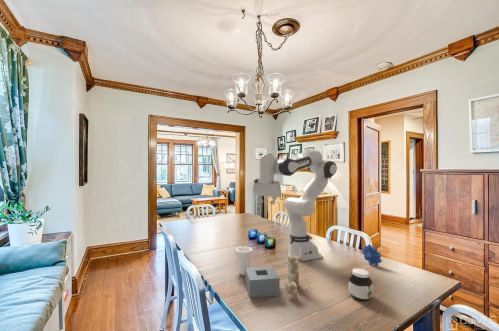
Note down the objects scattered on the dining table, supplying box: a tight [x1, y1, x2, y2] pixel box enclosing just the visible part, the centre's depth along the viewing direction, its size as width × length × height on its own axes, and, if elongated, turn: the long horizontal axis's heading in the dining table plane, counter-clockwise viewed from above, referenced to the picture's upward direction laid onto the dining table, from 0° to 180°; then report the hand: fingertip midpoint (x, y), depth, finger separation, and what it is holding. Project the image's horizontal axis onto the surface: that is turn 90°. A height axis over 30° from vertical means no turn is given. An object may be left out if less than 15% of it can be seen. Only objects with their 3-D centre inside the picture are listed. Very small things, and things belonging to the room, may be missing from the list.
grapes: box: [361, 244, 382, 267], centre depth 145 cm, size 12×7×12 cm, turn 38°
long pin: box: [287, 255, 300, 287], centre depth 120 cm, size 4×4×14 cm
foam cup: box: [235, 246, 253, 276], centre depth 134 cm, size 10×9×13 cm
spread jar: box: [348, 268, 374, 302], centre depth 111 cm, size 12×11×12 cm
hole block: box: [244, 265, 281, 299], centre depth 115 cm, size 14×14×8 cm
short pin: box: [285, 281, 298, 301], centre depth 108 cm, size 4×4×6 cm
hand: (266, 203), depth 142 cm, fingers open, 8 cm apart
